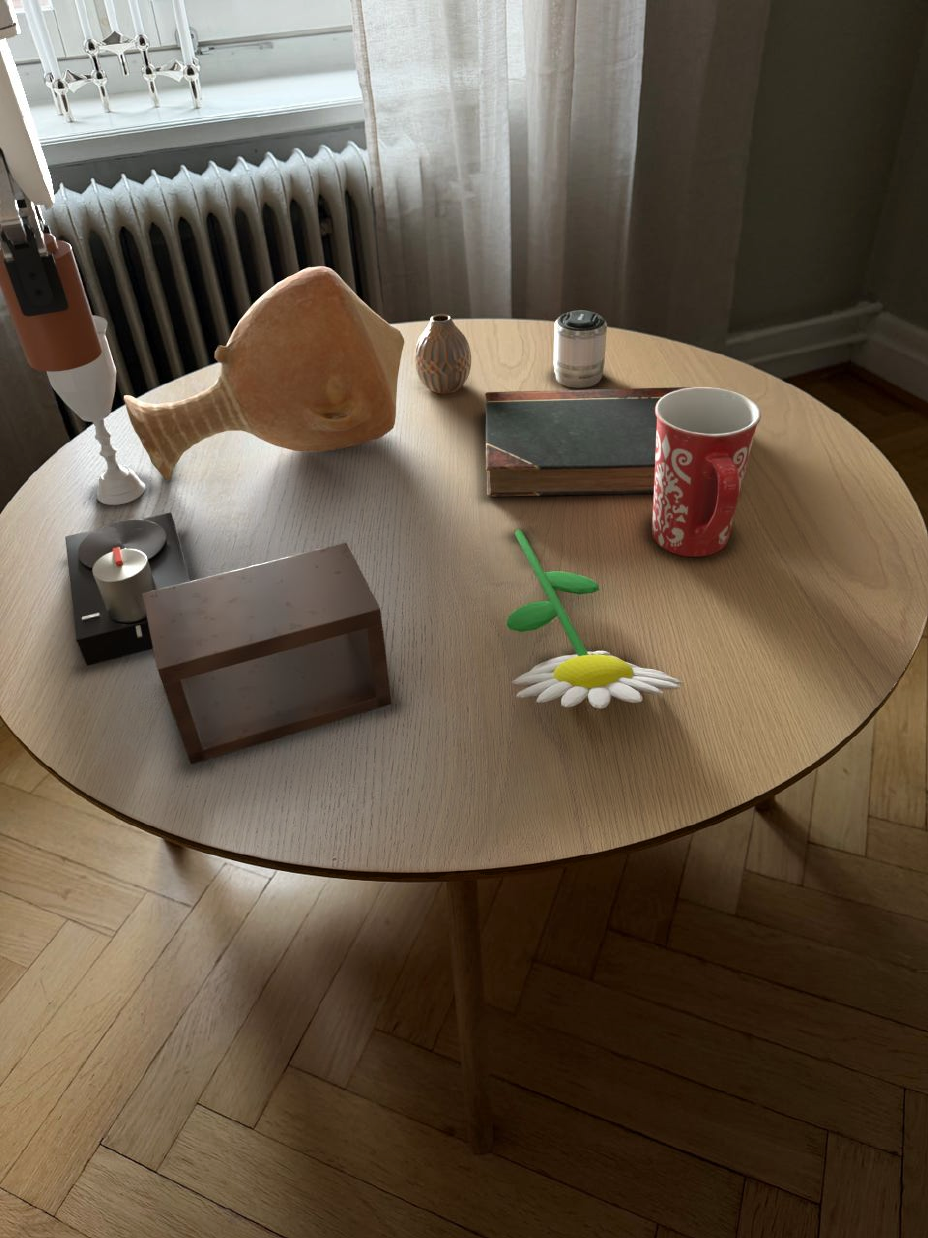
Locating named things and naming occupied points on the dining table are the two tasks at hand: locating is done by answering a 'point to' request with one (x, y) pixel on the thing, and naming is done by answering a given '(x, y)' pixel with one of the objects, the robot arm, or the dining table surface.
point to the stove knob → (124, 583)
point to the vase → (442, 356)
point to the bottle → (55, 317)
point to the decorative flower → (577, 651)
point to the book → (572, 441)
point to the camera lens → (579, 348)
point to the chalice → (99, 416)
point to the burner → (123, 540)
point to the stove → (91, 618)
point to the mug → (700, 467)
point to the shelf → (268, 650)
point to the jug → (289, 376)
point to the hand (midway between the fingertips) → (44, 294)
